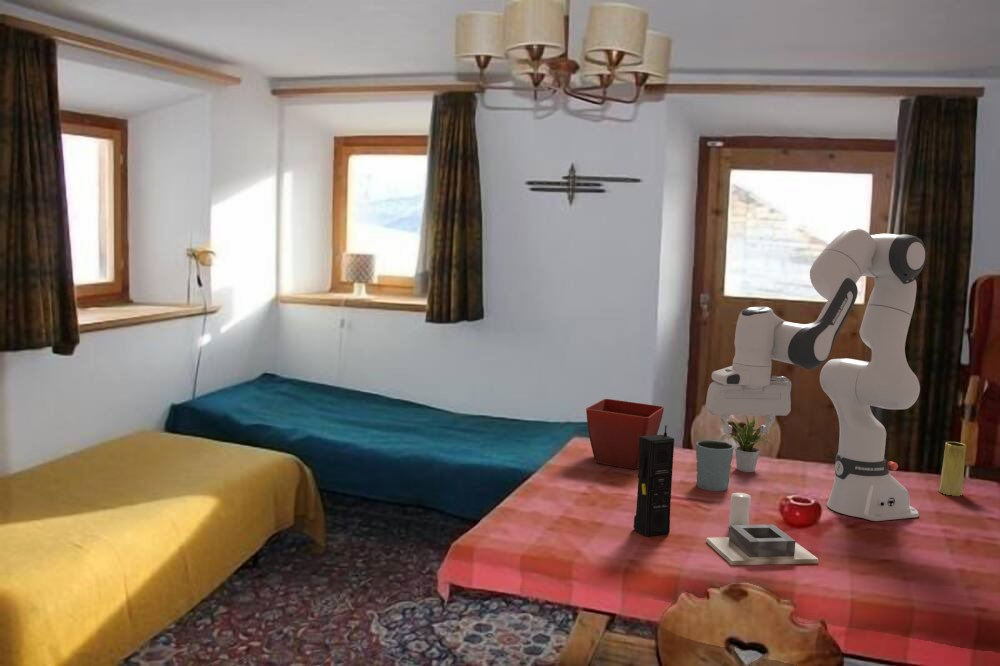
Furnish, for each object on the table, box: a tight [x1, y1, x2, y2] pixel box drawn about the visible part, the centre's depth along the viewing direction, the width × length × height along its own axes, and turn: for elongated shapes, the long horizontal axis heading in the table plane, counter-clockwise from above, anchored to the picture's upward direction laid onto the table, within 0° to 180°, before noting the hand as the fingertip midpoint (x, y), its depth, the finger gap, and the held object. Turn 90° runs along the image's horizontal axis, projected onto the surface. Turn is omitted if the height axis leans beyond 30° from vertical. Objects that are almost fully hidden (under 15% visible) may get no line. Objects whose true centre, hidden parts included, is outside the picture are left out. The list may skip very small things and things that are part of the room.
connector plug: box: [728, 492, 752, 529], centre depth 219 cm, size 4×4×8 cm
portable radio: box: [633, 425, 675, 537], centre depth 212 cm, size 8×6×25 cm
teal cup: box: [695, 439, 735, 492], centre depth 252 cm, size 10×10×12 cm
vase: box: [938, 441, 967, 497], centre depth 256 cm, size 6×6×14 cm
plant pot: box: [585, 398, 665, 470], centre depth 273 cm, size 19×19×17 cm
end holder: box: [705, 524, 819, 566], centre depth 203 cm, size 20×14×4 cm
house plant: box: [728, 416, 773, 473], centre depth 270 cm, size 14×14×16 cm
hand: (746, 432), depth 217 cm, fingers open, 8 cm apart
